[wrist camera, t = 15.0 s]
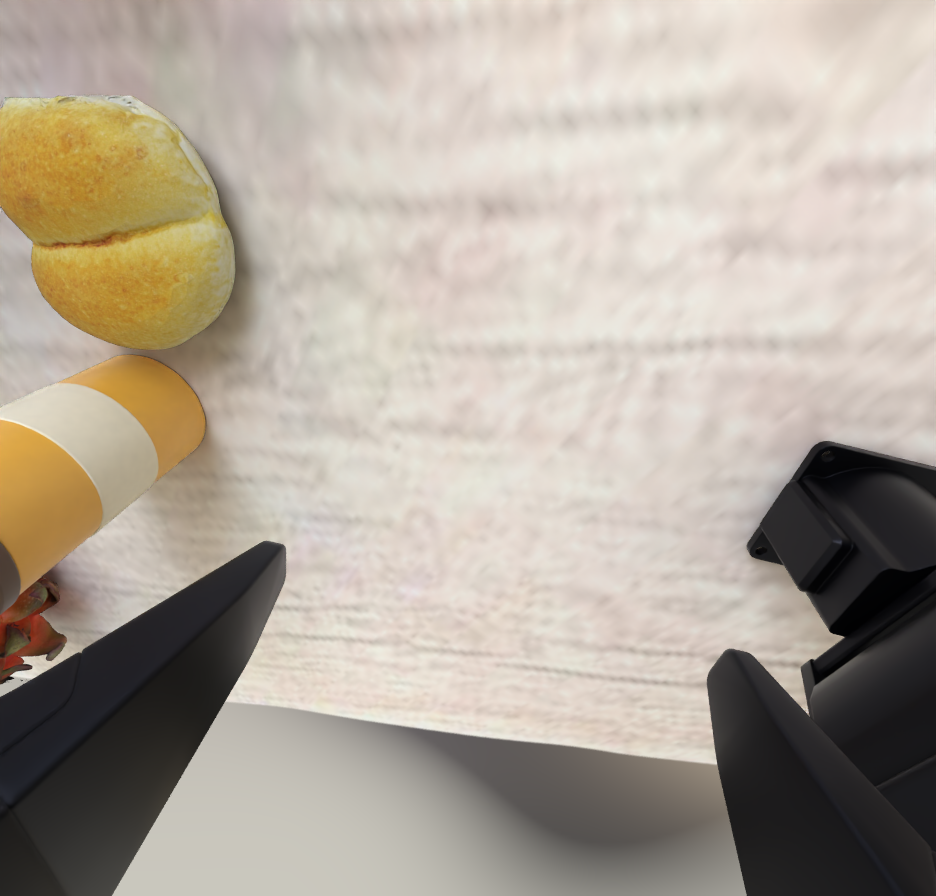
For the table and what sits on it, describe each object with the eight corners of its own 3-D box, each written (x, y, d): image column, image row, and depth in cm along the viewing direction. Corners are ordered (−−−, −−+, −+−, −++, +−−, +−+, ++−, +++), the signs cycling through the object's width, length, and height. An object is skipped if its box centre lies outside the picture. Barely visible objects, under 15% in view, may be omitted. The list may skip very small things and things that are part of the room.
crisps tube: (220, 392, 23) (4, 546, 14) (194, 475, 26) (-1, 651, 17) (102, 328, 22) (-215, 448, 13) (88, 422, 25) (-180, 576, 16)
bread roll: (102, 337, 23) (24, 368, 19) (4, 102, 18) (-120, 88, 15) (268, 339, 22) (217, 372, 18) (208, 90, 17) (125, 72, 14)
